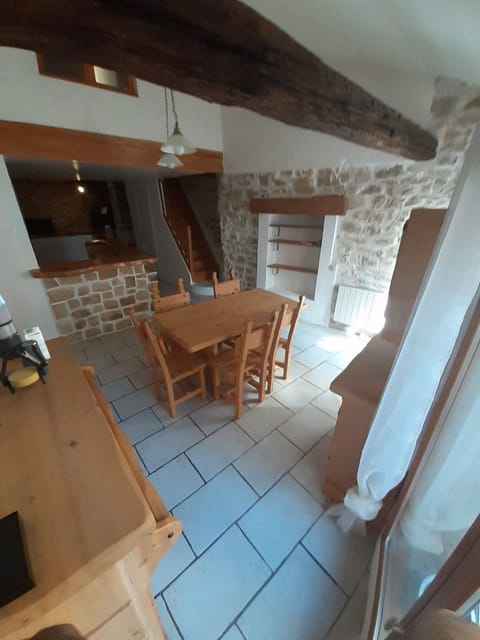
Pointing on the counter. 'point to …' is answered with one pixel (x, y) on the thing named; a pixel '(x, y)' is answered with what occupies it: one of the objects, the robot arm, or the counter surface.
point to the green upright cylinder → (30, 352)
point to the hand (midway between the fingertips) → (29, 386)
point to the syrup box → (37, 339)
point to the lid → (23, 377)
